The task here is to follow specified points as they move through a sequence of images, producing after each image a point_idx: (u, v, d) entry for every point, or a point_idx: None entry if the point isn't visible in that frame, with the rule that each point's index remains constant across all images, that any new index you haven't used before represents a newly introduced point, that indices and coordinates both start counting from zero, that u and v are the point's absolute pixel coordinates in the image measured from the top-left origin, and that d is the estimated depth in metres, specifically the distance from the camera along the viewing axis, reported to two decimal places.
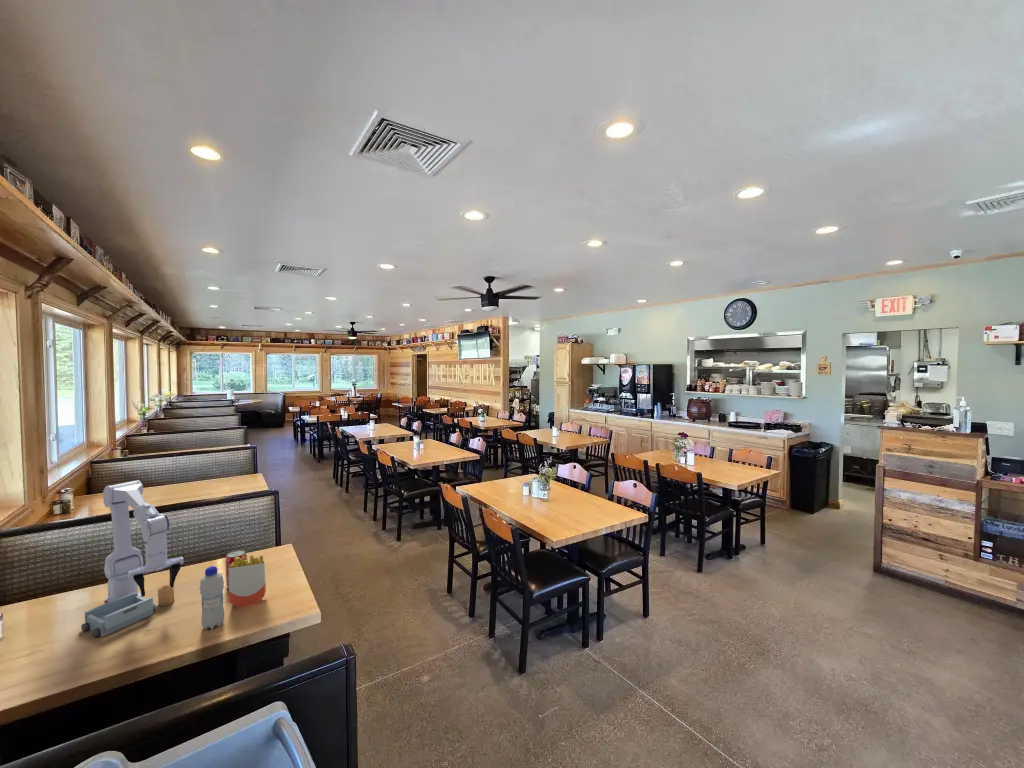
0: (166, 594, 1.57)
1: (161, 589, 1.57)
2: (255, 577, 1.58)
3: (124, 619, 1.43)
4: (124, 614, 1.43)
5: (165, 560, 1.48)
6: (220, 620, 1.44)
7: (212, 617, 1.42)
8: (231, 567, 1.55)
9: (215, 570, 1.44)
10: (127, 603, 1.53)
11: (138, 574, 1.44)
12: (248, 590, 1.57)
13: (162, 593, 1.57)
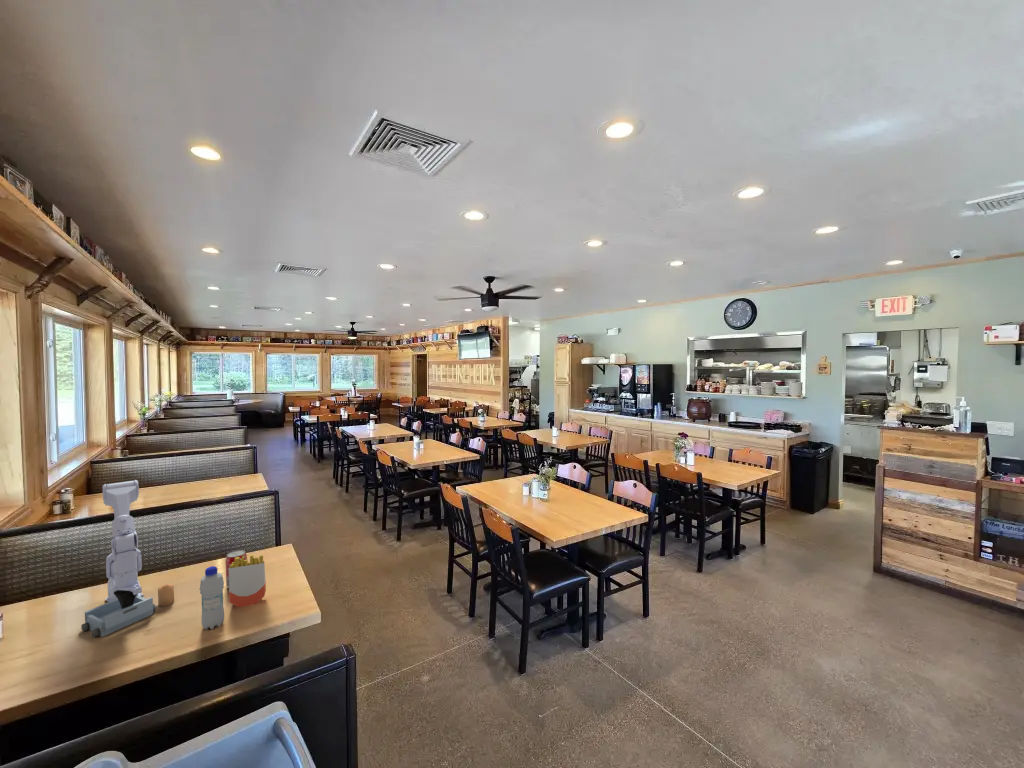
0: (166, 594, 1.57)
1: (161, 589, 1.57)
2: (255, 577, 1.58)
3: (124, 619, 1.43)
4: (124, 614, 1.43)
5: (122, 583, 1.42)
6: (220, 620, 1.44)
7: (212, 617, 1.42)
8: (231, 567, 1.55)
9: (215, 570, 1.44)
10: None
11: None
12: (248, 590, 1.57)
13: (162, 593, 1.57)
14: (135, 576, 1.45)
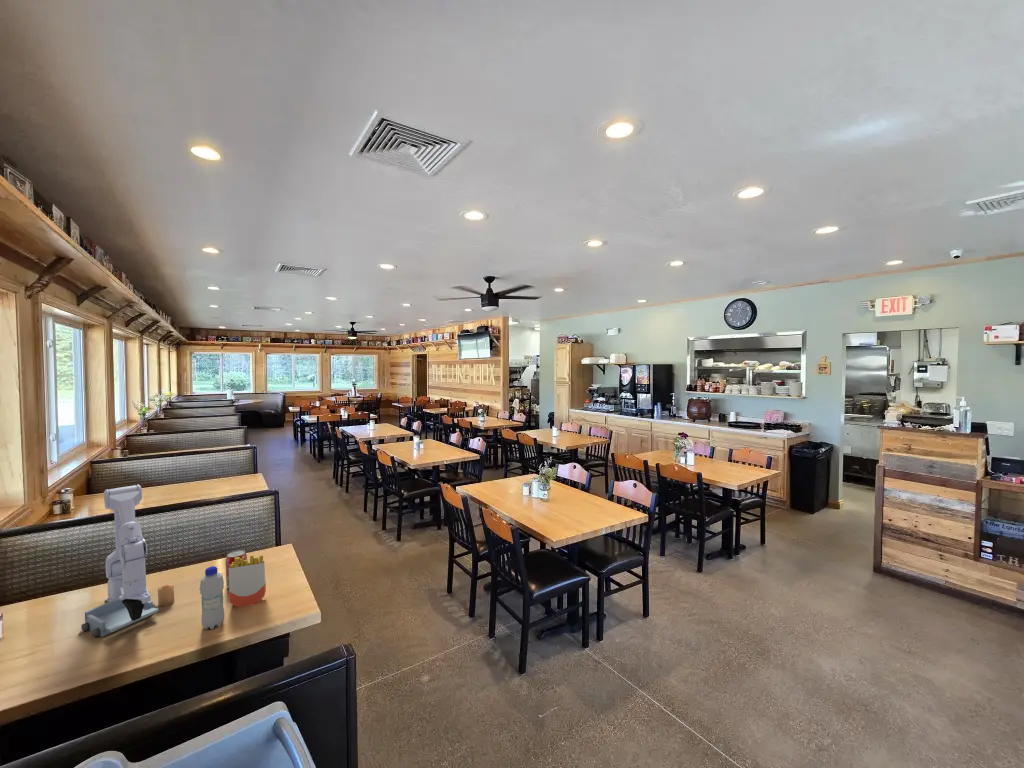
0: (166, 594, 1.57)
1: (161, 589, 1.57)
2: (255, 577, 1.58)
3: None
4: None
5: (131, 592, 1.40)
6: (220, 620, 1.44)
7: (212, 617, 1.42)
8: (231, 567, 1.55)
9: (215, 570, 1.44)
10: None
11: None
12: (248, 590, 1.57)
13: (162, 593, 1.57)
14: (144, 584, 1.43)
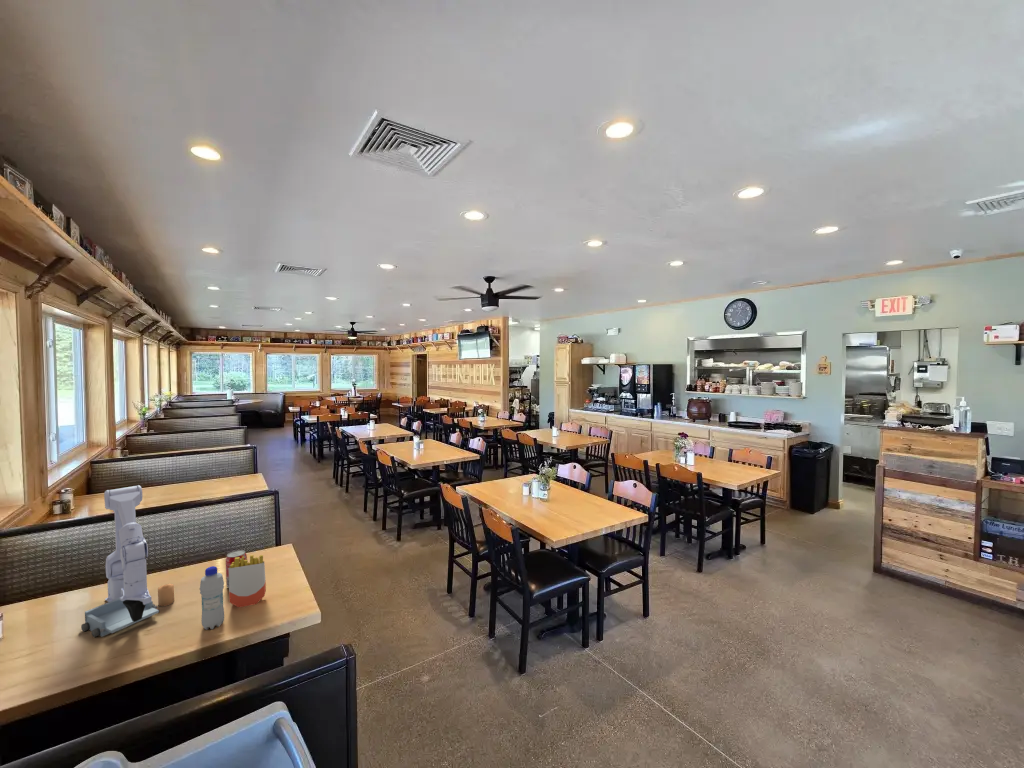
0: (166, 594, 1.57)
1: (161, 589, 1.57)
2: (255, 577, 1.58)
3: None
4: None
5: (132, 592, 1.40)
6: (220, 620, 1.44)
7: (212, 617, 1.42)
8: (231, 567, 1.55)
9: (215, 570, 1.44)
10: None
11: None
12: (248, 590, 1.57)
13: (162, 593, 1.57)
14: (145, 585, 1.43)
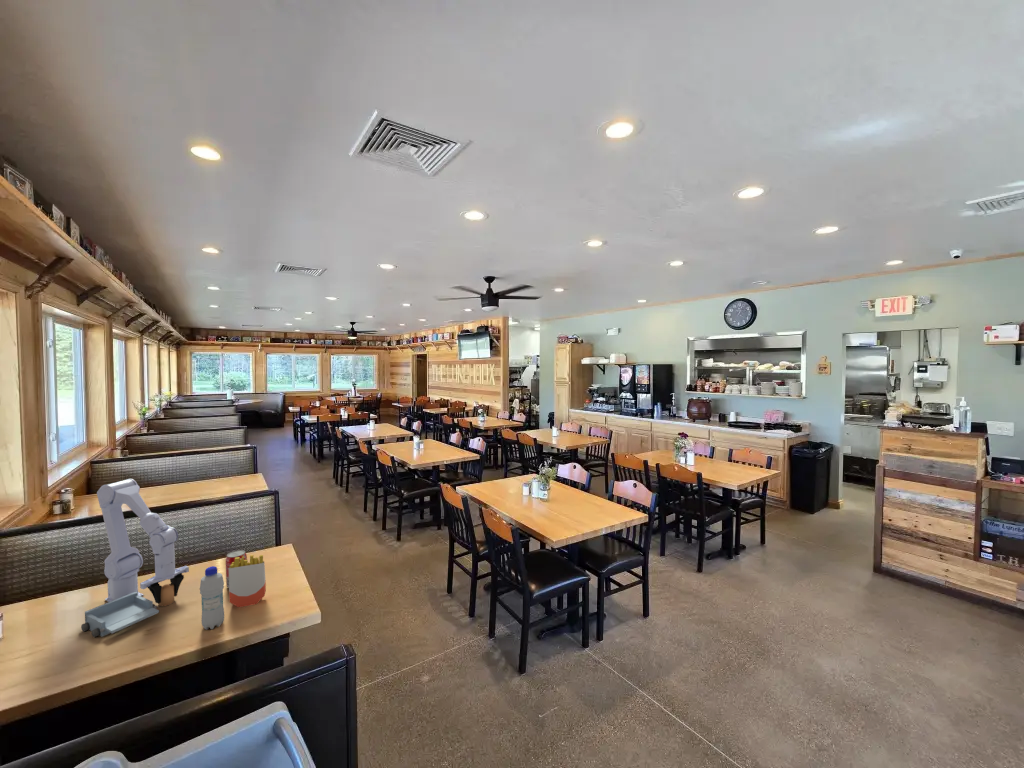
0: (166, 594, 1.57)
1: (161, 589, 1.57)
2: (255, 577, 1.58)
3: None
4: None
5: (174, 569, 1.59)
6: (220, 620, 1.44)
7: (212, 617, 1.42)
8: (231, 567, 1.55)
9: (215, 570, 1.44)
10: (127, 603, 1.53)
11: (150, 585, 1.54)
12: (248, 590, 1.57)
13: (162, 593, 1.57)
14: None
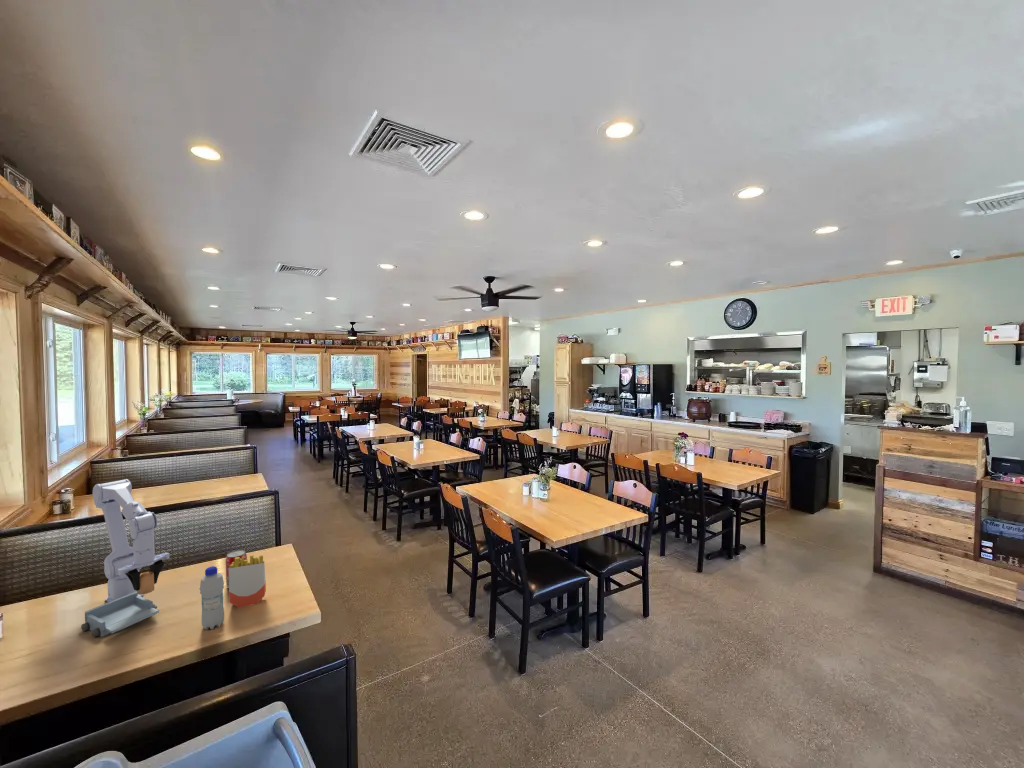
0: (145, 582, 1.51)
1: (140, 577, 1.51)
2: (255, 577, 1.58)
3: None
4: None
5: (154, 555, 1.54)
6: (220, 620, 1.44)
7: (212, 617, 1.42)
8: (231, 567, 1.55)
9: (215, 570, 1.44)
10: (127, 603, 1.53)
11: (128, 571, 1.48)
12: (248, 590, 1.57)
13: (141, 581, 1.51)
14: None
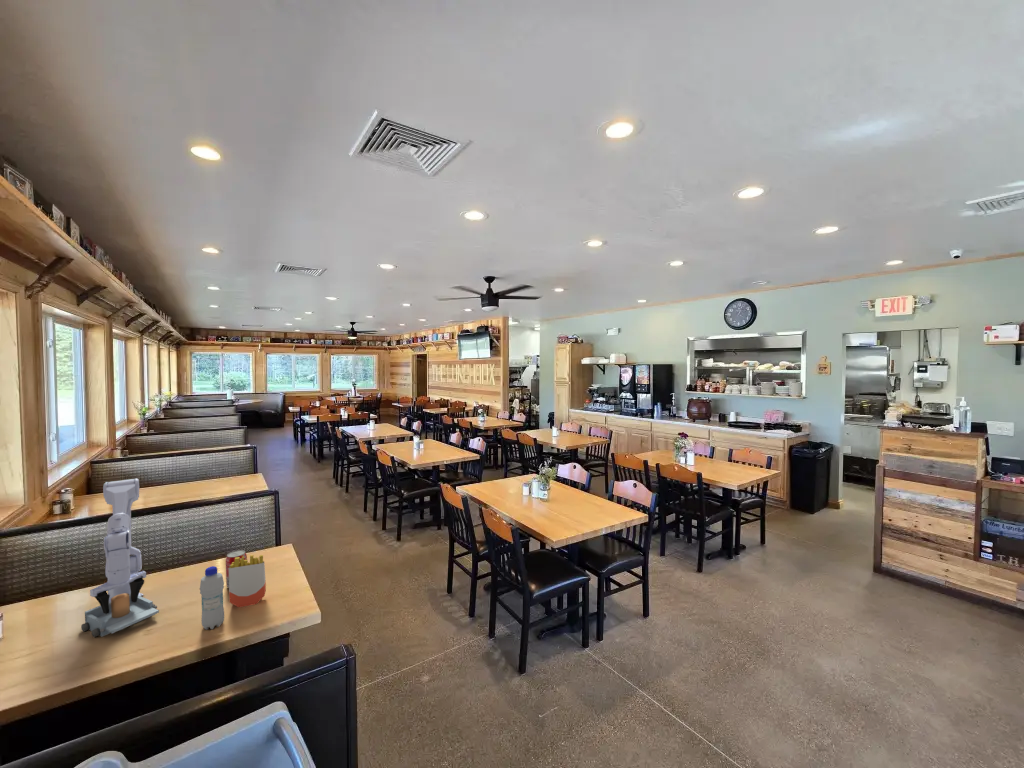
0: (120, 605, 1.45)
1: (114, 599, 1.45)
2: (255, 577, 1.58)
3: None
4: None
5: (129, 575, 1.48)
6: (220, 620, 1.44)
7: (212, 617, 1.42)
8: (231, 567, 1.55)
9: (215, 570, 1.44)
10: None
11: (101, 592, 1.42)
12: (248, 590, 1.57)
13: (116, 604, 1.45)
14: None
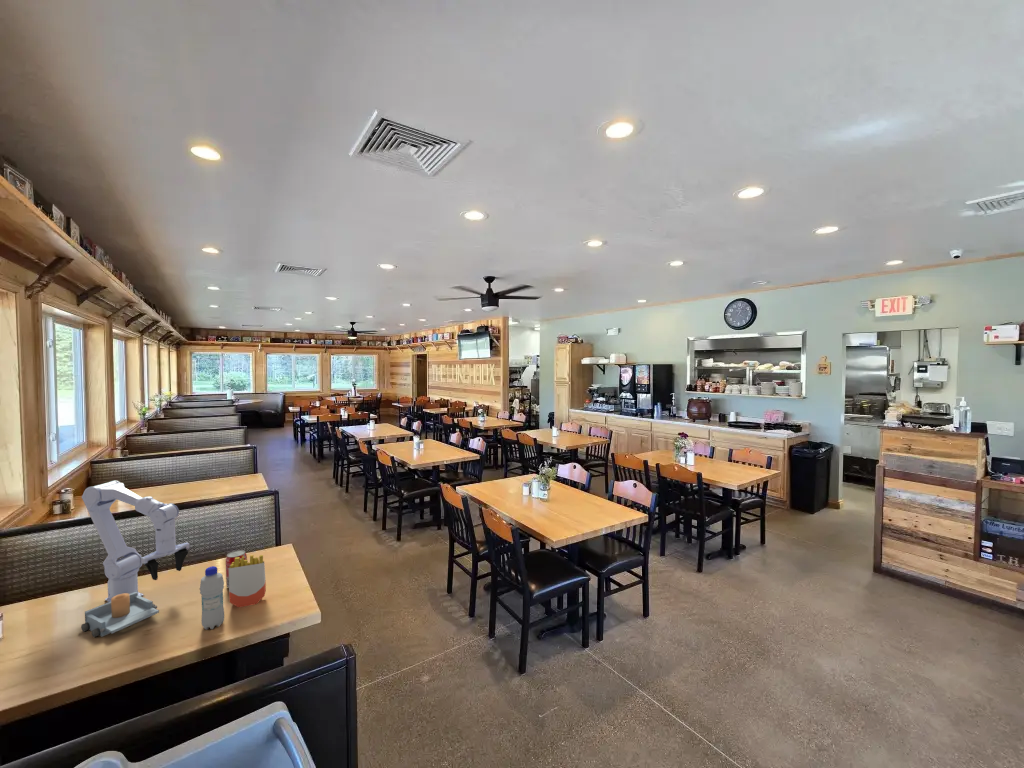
0: (120, 605, 1.46)
1: (115, 599, 1.45)
2: (255, 577, 1.58)
3: None
4: None
5: (175, 545, 1.60)
6: (220, 620, 1.44)
7: (212, 617, 1.42)
8: (231, 567, 1.55)
9: (215, 570, 1.44)
10: None
11: (151, 559, 1.55)
12: (248, 590, 1.57)
13: (116, 604, 1.45)
14: None
